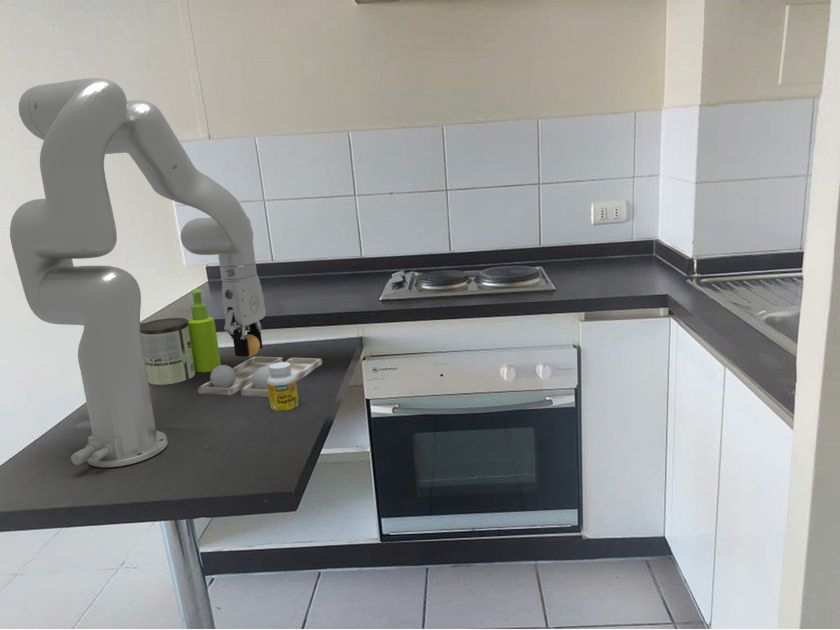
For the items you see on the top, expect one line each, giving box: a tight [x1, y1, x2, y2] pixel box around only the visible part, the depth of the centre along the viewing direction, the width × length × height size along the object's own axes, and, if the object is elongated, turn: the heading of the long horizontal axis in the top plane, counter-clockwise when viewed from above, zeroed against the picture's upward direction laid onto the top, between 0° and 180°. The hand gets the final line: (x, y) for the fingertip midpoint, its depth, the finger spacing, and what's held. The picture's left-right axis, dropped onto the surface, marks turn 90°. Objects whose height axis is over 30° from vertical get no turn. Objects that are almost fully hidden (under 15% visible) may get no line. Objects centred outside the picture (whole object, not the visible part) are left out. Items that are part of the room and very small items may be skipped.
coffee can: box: [140, 317, 196, 385], centre depth 138 cm, size 10×10×14 cm
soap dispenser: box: [188, 288, 222, 373], centre depth 143 cm, size 6×7×20 cm
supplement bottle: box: [267, 361, 300, 412], centre depth 117 cm, size 5×5×10 cm
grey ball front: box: [253, 366, 271, 390], centre depth 126 cm, size 5×5×5 cm
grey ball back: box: [210, 364, 235, 388], centre depth 129 cm, size 5×5×5 cm
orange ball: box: [245, 333, 261, 358], centre depth 138 cm, size 5×5×5 cm
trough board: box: [197, 356, 323, 398], centre depth 135 cm, size 24×19×3 cm
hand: (249, 351), depth 139 cm, fingers closed on orange ball, 4 cm apart
